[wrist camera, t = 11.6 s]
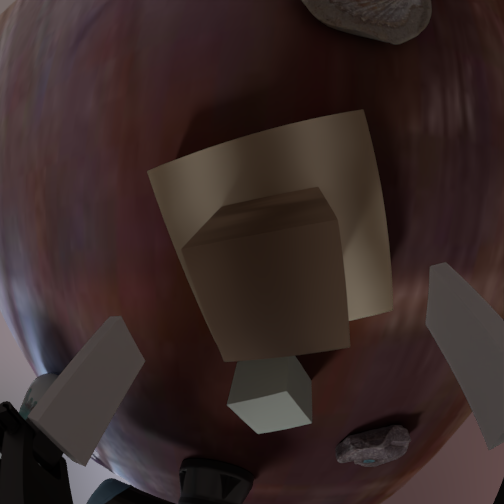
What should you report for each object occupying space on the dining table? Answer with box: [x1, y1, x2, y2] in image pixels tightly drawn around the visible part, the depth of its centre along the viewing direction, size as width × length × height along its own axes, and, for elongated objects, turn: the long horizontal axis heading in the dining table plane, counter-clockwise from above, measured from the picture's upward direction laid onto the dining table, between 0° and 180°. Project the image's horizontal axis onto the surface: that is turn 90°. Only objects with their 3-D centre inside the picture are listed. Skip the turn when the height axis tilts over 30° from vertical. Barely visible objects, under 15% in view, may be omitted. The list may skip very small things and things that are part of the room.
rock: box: [336, 425, 411, 467], centre depth 31 cm, size 8×11×5 cm
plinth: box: [147, 109, 393, 342], centre depth 20 cm, size 14×14×5 cm
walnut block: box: [181, 187, 350, 362], centre depth 14 cm, size 6×6×7 cm
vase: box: [19, 373, 59, 420], centre depth 30 cm, size 12×12×18 cm
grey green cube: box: [227, 356, 312, 434], centre depth 25 cm, size 6×6×6 cm
